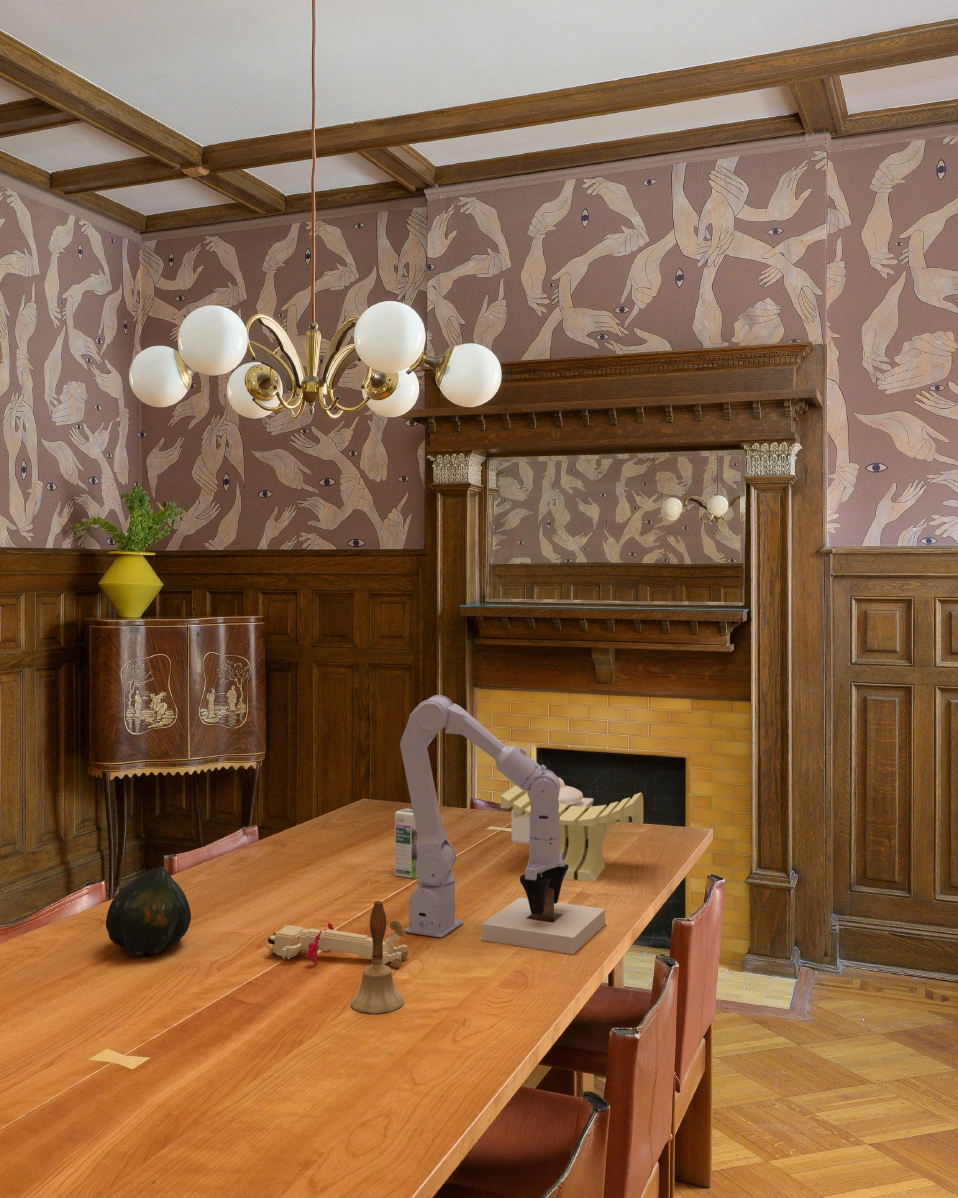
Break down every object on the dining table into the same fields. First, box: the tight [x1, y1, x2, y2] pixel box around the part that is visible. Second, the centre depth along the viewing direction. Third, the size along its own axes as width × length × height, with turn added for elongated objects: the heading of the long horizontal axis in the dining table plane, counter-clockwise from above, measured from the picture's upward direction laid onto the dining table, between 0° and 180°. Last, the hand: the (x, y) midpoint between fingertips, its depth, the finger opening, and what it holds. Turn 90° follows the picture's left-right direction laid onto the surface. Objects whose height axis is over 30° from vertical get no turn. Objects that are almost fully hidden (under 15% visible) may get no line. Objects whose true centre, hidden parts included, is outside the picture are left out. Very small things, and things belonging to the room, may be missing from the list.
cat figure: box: [265, 919, 409, 969], centre depth 183 cm, size 10×9×25 cm
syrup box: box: [394, 808, 418, 880], centre depth 236 cm, size 6×6×14 cm
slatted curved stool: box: [500, 785, 644, 882], centre depth 240 cm, size 30×16×18 cm, turn 73°
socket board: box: [480, 897, 606, 955], centre depth 197 cm, size 18×18×3 cm
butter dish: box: [511, 776, 594, 844], centre depth 272 cm, size 18×18×16 cm
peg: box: [533, 887, 554, 923], centre depth 197 cm, size 4×4×8 cm
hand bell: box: [350, 900, 405, 1015], centre depth 163 cm, size 8×8×16 cm
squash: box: [105, 866, 192, 958], centre depth 189 cm, size 14×15×15 cm
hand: (544, 908), depth 197 cm, fingers open, 7 cm apart
